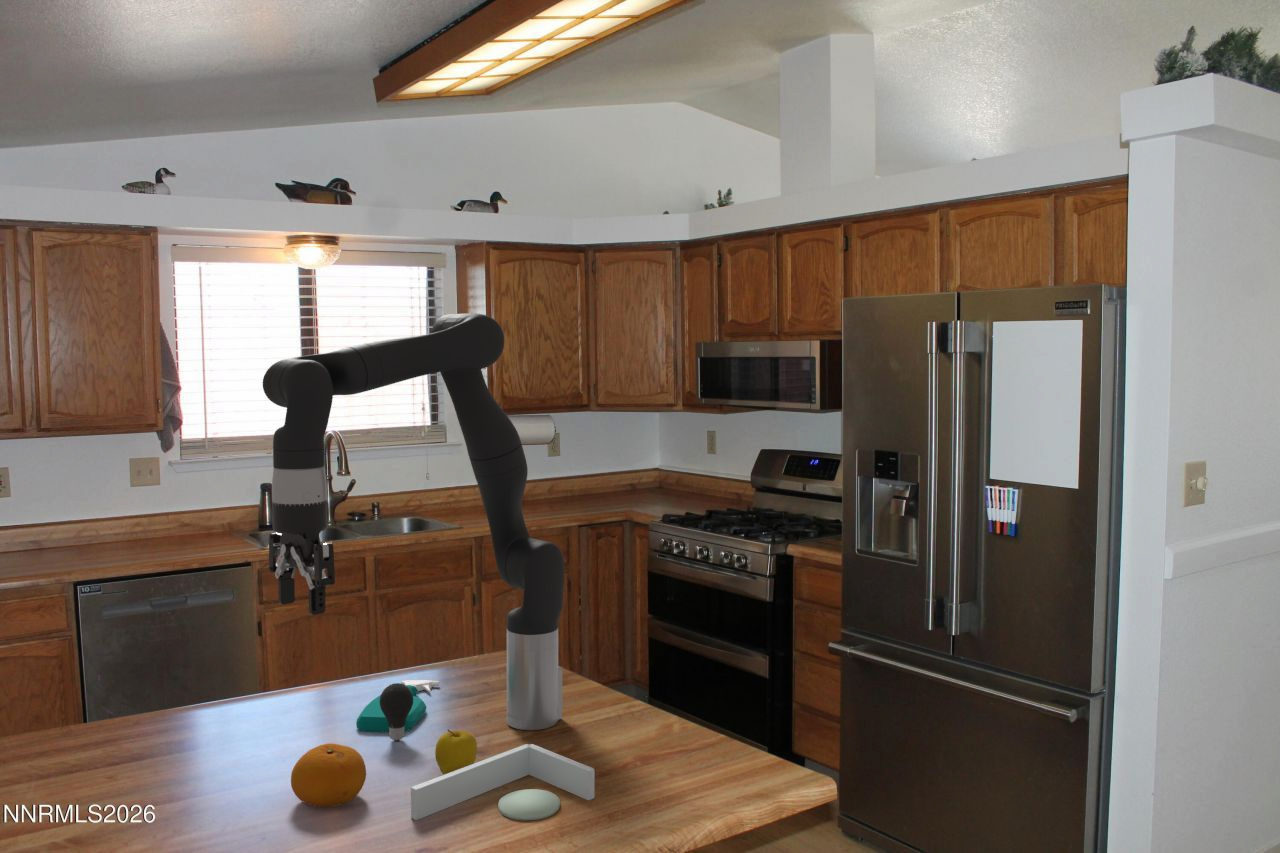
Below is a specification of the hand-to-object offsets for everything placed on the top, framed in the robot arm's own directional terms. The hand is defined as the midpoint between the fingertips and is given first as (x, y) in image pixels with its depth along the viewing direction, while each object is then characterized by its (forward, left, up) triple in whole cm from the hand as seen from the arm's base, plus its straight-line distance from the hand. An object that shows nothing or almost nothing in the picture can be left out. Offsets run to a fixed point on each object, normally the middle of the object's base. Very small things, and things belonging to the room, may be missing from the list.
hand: (301, 608), depth 148 cm
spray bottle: (-33, -23, -30) cm, 50 cm away
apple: (-21, +9, -30) cm, 37 cm away
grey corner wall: (-19, +23, -29) cm, 42 cm away
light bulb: (-23, -10, -30) cm, 39 cm away
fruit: (-3, +2, -30) cm, 30 cm away
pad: (-22, +25, -29) cm, 44 cm away
